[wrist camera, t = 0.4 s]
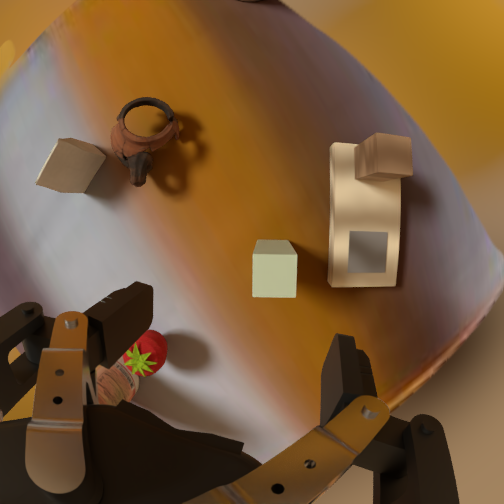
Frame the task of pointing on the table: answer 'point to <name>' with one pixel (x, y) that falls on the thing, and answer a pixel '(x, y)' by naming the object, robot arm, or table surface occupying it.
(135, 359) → the strawberry
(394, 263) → the base slab
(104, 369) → the fruit juice
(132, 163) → the pottery mug
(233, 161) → the table surface
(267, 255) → the pillar
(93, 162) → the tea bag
